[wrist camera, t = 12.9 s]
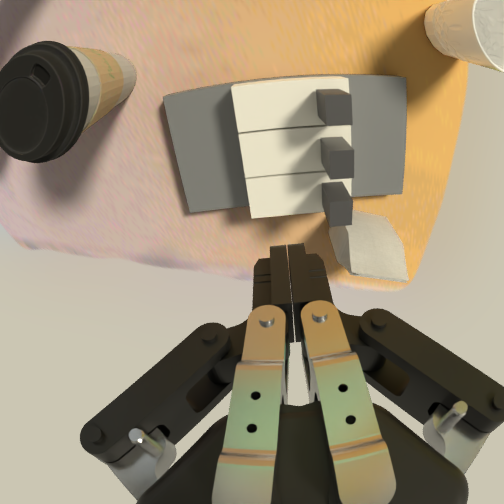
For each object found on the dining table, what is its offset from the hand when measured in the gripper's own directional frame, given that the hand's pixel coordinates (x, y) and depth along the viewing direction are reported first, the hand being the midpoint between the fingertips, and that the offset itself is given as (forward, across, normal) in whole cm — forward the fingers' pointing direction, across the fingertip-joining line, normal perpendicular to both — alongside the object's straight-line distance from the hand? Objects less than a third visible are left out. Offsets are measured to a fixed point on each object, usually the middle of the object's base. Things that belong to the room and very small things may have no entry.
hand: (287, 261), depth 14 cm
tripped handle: (+16, -5, 0) cm, 16 cm away
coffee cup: (+21, +16, -10) cm, 28 cm away
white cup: (+21, -21, -13) cm, 32 cm away
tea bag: (+21, -9, +12) cm, 26 cm away
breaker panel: (+21, -2, 0) cm, 21 cm away
